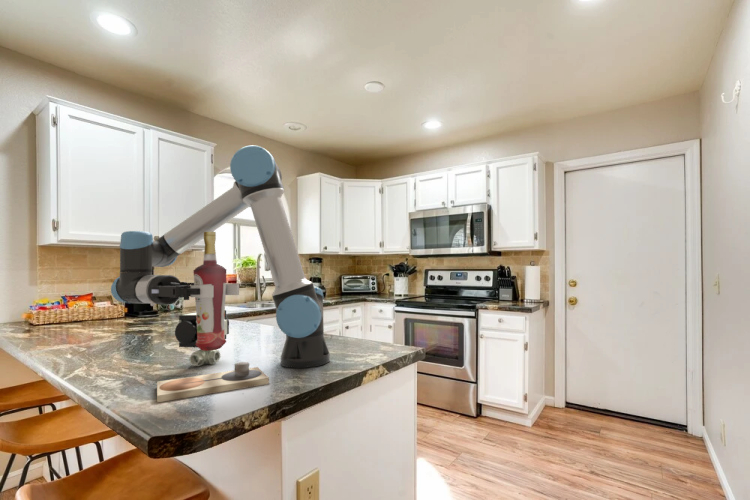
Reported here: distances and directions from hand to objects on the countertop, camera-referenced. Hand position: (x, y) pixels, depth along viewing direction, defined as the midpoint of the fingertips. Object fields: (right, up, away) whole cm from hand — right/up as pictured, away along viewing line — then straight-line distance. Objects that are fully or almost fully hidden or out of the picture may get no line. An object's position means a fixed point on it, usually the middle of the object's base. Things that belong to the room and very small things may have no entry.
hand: (225, 290), depth 91 cm
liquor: (-4, -14, +2) cm, 15 cm away
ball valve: (-18, -27, +31) cm, 45 cm away
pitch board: (-6, -25, +8) cm, 27 cm away
